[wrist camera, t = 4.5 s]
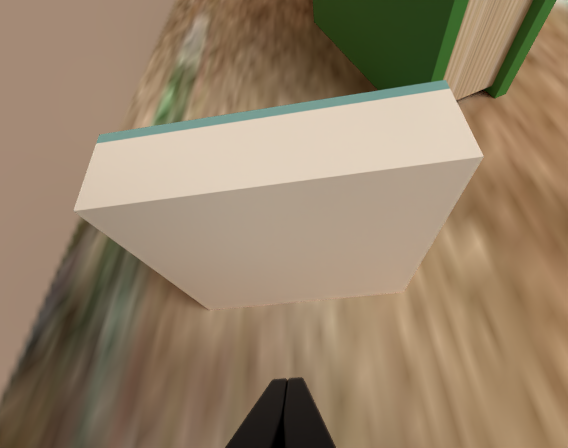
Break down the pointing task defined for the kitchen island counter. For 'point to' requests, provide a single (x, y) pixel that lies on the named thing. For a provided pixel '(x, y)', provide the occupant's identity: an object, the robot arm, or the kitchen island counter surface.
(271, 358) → the kitchen island counter surface
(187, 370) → the kitchen island counter surface
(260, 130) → the tile
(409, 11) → the hardback book
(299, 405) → the robot arm
